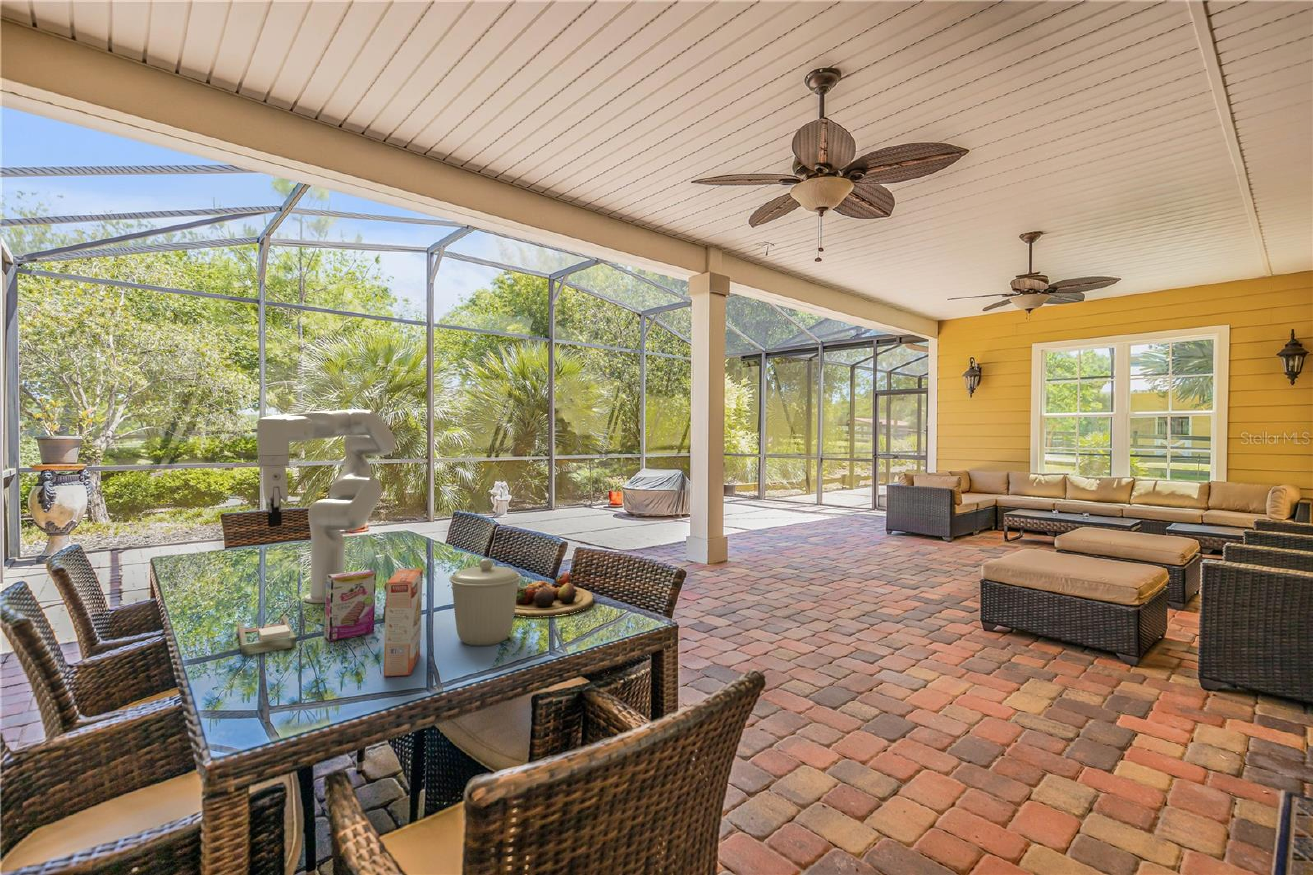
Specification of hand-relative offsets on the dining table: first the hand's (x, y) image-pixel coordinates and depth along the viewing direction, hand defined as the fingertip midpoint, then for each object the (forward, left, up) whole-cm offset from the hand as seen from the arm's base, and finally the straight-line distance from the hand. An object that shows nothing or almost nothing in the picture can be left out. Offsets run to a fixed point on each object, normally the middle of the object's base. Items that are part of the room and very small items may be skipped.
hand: (274, 525), depth 172 cm
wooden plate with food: (-71, +25, -27) cm, 80 cm away
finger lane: (+3, +17, -27) cm, 31 cm away
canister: (-43, +48, -27) cm, 70 cm away
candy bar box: (-15, +26, -27) cm, 40 cm away
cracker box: (-21, +55, -27) cm, 65 cm away
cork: (-28, +17, -27) cm, 42 cm away
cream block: (+2, +24, -27) cm, 36 cm away
